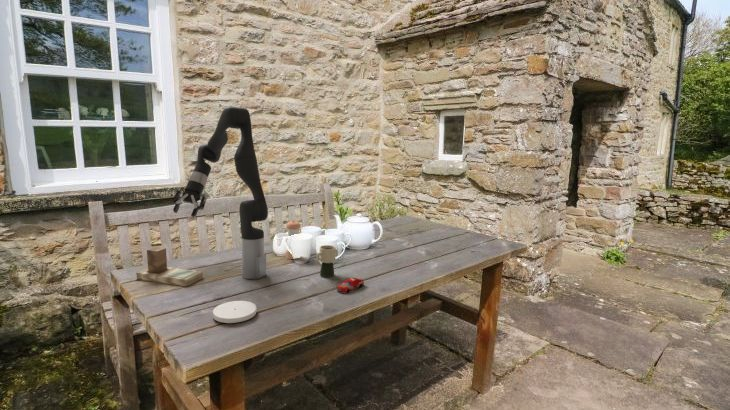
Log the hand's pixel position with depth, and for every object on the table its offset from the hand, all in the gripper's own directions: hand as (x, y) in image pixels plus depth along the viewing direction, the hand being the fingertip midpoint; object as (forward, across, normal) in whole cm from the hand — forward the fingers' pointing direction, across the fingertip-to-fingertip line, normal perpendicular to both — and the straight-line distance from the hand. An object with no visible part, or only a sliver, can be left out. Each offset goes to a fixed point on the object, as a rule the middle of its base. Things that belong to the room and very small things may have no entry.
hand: (183, 214), depth 181 cm
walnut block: (+30, +3, -6) cm, 31 cm away
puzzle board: (+30, +9, -7) cm, 32 cm away
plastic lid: (+38, +49, -34) cm, 71 cm away
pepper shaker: (+4, +50, +23) cm, 55 cm away
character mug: (+12, +72, +1) cm, 73 cm away
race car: (+17, +84, -11) cm, 86 cm away
